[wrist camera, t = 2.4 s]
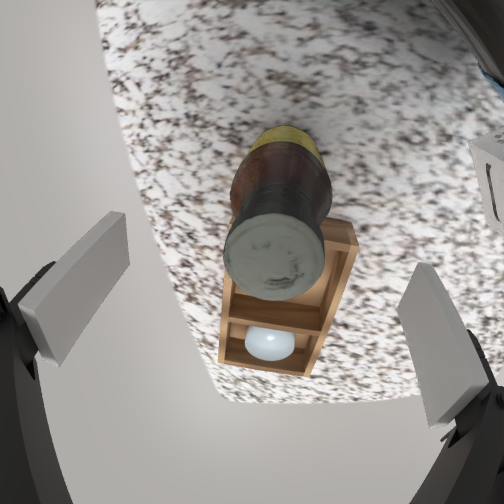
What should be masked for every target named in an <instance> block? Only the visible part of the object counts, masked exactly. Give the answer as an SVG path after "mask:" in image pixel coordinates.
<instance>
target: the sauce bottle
mask: <svg viewBox="0 0 504 504" xmlns="http://www.w3.org/2000/svg"><path fill="white" fill-rule="evenodd" d="M230 200H231V208H232V211H233V215H234V217H235V221H234V222H233V223H232V226H231V228H230V230H229V233H228V236H227V239H226V242H225V246H224V257H223V260H224V265H225V268H226V271H227V273H228V275H229V277H230V278H231V279H232V280H233V281H234V282H235V284H236V285H237V286H238V287H239V288H240V289H241V290H243V291H244V292H246V293H248V294H249V295H252V296H254V297H257V298H260V299H262V300H271V301H278V300H279V301H282V300H286V299H290V298H293V297H296V296H298V295H300V294H302V293H304V292H305V291H307V290H308V289H310V288H311V287H312V286H313V285H314V284H315V283H316V281H317V280H318V279H319V278H320V277H321V274H322V272H323V269H324V265H325V248H324V245H325V242H324V238H323V234H322V231H321V228H320V225H321V223H322V222H323V221H324V219H325V218H326V216H327V214H328V213H329V210H330V207H331V203H332V186H331V181H330V178H329V175H328V173H327V170H326V168H325V165H324V163H323V160H322V158H321V156H320V153H319V151H318V149H317V147H316V145H315V143H314V141H313V140H312V139H311V137H310V136H309V135H308V134H306V133H305V132H303V131H302V130H300V129H297V128H295V127H290V126H279V127H275V128H272V129H270V130H267V131H266V132H265V133H263V134H262V135H261V136H260V137H259V138H258V139H257V141H256V142H255V144H254V145H253V146H252V148H251V149H250V151H249V152H248V154H247V155H246V156H245V158H244V159H243V161H242V162H241V164H240V166H239V169H238V171H237V173H236V175H235V177H234V179H233V183H232V187H231V191H230Z"/></svg>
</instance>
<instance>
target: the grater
mask: <svg viewBox="0 0 504 504" xmlns="http://www.w3.org/2000/svg"><path fill="white" fill-rule="evenodd" d="M502 132H504V127H502V128H499V129H497V130H495V131H492V132H490V133H488V134H485V135H483V136H481V137H478V138H476V139H474V140H472V141H469V142H468V144H469V147H470V151H471V155H472V158H473V162H474V166H475V170H476V175H477V179H478V183H479V188H480V193H481V198H482V203H483V209H484V215H485V221H486V224H487V225H488V226H490V227H491V228H493V229H494V230H496V231H497V232H499V233H500V234H502V235H503V236H504V143H502V144H501V143H498V140H504V135H503V134H502ZM495 135H501V136H502V137H501V138H495ZM486 163H488V164H490V165H491V169H490V177H491V182H492V187H493V192H494V198H495V204H496V210H497V215H498V218H497V219H496V217H495V214H494V211H493V205H492V199H491V194H490V188H489V183H488V178H487V173H486Z"/></svg>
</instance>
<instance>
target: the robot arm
mask: <svg viewBox="0 0 504 504" xmlns="http://www.w3.org/2000/svg"><path fill="white" fill-rule="evenodd" d="M431 1H432V2H433V3H434V4H435V6H436V7H437V8H438V9H439V10H440V11H441V13H442V14H443V15H444V16H445V17H446V19H447V20H448V21H449V22H450V24H451V25H452V26H453V27H454V29H455V30H456V31H457V33H458V34H459V35H460V37H461V38H462V39H463V41H464V42H465V43H466V45H467V46H468V48H469V49H470V51H471V52H472V53H473V55H474V56H475V58H476V59H477V61H478V67H479V69H480V71H481V72H482V74H483V75H484V77H485V78H486V79H487V81H488V82H489V83H490V84H491V85H492V86H493V87H494V88H495V89H496V91H497V93H498V94H499V96H500V97H501V99H502V101H503V102H504V0H431ZM129 265H130V261H129V252H128V242H127V232H126V218H125V213H120V212H113V211H110V212H109V213H108V214H107V215H106V216H105V217H104V218H103V219H101V220H100V221H99V222H98V223H97V224H96V225H95V226H94V227H93V228H91V229H90V231H88V232H87V233H86V234H85V235H84V236H83V237H82V238H81V239H80V240H79V241H78V242H77V243H76V244H75V245H73V246H72V247H71V248H70V249H69V250H68V251H67V252H66V253H65V254H64V255H63V256H62V257H61V258H60V259H59V260H58V261H57V262H55V261H53V262H51V263H49V264H47V265H46V266H44V267H43V268H42V269H41V270H40V271H39V272H38V273H37V274H36V275H35V277H33V278H32V279H31V280H30V281H29V283H27V284H26V285H25V286H24V287H23V288H22V289H21V290H20V292H19V293H18V294H17V295H16V296H15V297H14V298H13V299H12V300H11V302H10V303H9V302H8V300H7V297H6V295H5V292H4V290H3V288H1V287H0V504H73V502H72V500H71V497H70V495H69V492H68V489H67V486H66V484H65V481H64V478H63V475H62V472H61V469H60V466H59V463H58V459H57V456H56V452H55V449H54V445H53V442H52V438H51V434H50V430H49V426H48V422H47V417H46V413H45V408H44V403H43V398H42V393H41V387H40V381H39V375H38V369H37V362H36V359H35V357H34V356H35V354H36V353H37V351H38V350H39V352H40V354H41V356H42V358H43V360H44V361H46V362H48V363H50V364H52V365H55V366H57V367H60V366H61V364H62V362H63V361H64V360H65V358H66V356H67V355H68V353H69V352H70V350H71V348H72V347H73V345H74V344H75V342H76V341H77V339H78V338H79V336H80V334H81V333H82V332H83V330H84V328H85V327H86V326H87V324H88V323H89V321H90V320H91V318H92V317H93V315H94V314H95V312H96V311H97V309H98V308H99V306H100V305H101V304H102V302H103V301H104V299H105V298H106V297H107V295H108V294H109V292H110V291H111V290H112V288H113V287H114V285H115V284H116V282H117V281H118V280H119V279H120V277H121V276H122V275H123V273H124V272H125V270H126V269H127V268H128V266H129ZM397 312H398V315H399V318H400V321H401V324H402V327H403V331H404V334H405V337H406V340H407V344H408V347H409V350H410V354H411V357H412V361H413V364H414V368H415V371H416V375H417V379H418V383H419V387H420V391H421V395H422V398H423V403H424V407H425V412H426V416H427V421H428V425H429V428H439V427H446V426H447V425H448V424H449V423H450V422H451V421H452V420H453V419H454V418H455V422H456V426H455V427H454V428H453V429H452V430H451V431H449V432H448V433H447V434H446V435H445V436H444V437H443V438H442V439H441V440H440V441H441V442H442V441H444V440H445V439H446V438H447V440H446V442H445V444H444V446H443V448H442V450H441V452H440V454H439V456H438V458H437V459H436V461H435V463H434V465H433V466H432V468H431V470H430V472H429V473H428V475H427V477H426V478H425V480H424V482H423V483H422V485H421V487H420V488H419V490H418V491H417V493H416V494H415V496H414V497H413V499H412V501H411V502H410V503H409V504H504V387H503V386H498V385H497V383H496V380H495V378H494V375H493V373H492V371H491V368H490V366H489V364H488V361H487V359H486V358H485V355H484V352H483V350H481V349H482V348H481V346H480V344H479V342H478V339H477V338H476V337H475V336H474V334H473V333H472V332H471V331H470V330H469V329H466V328H465V326H464V324H463V322H462V320H461V318H460V316H459V314H458V312H457V310H456V308H455V306H454V304H453V302H452V300H451V298H450V296H449V294H448V293H447V291H446V289H445V287H444V285H443V284H442V282H441V280H440V278H439V276H438V275H437V273H436V271H435V269H434V268H433V266H432V265H430V264H425V263H420V262H418V264H417V266H416V268H415V271H414V273H413V275H412V277H411V280H410V282H409V284H408V286H407V288H406V290H405V293H404V295H403V297H402V299H401V301H400V303H399V305H398V307H397Z"/></svg>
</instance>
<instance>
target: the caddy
mask: <svg viewBox="0 0 504 504" xmlns="http://www.w3.org/2000/svg"><path fill="white" fill-rule="evenodd" d="M234 221H235V217H234V215H233V216H232V219H231V221H230V223H229V230H230V228H231V226H232V223H233V222H234ZM320 228H321V231H322V234H323V238H324V242H325V245H324V248H325V265H324V269H323V272H322V274H321V277H320V278H319V279H318V280H317V281H316V283H315V284H314V285H313V286H312V287H311V288H310V289H308V290H307V291H305V292H304V293H302V294H300V295H298V296H296V297H293V298H290V299H286V300H282V301H279V300H278V301H271V300H262V299H260V298H257V297H254V296H252V295H249V294H248V293H246V292H244V291H243V290H241V289H240V288H239V287H238V286H237V285H236V284H235V282H234V281H233V280H232V279H231V278H230V277H229V275H228V273H227V271H226V268H225V276H224V288H223V300H222V313H221V326H220V339H219V353H218V363H223V364H228V365H233V366H239V367H244V368H250V369H256V370H262V371H269V372H275V373H282V374H289V375H297V376H305V377H309V376H310V374H311V371H312V369H313V367H314V364H315V362H316V360H317V357H318V355H319V353H320V350H321V348H322V346H323V343H324V341H325V338H326V336H327V333H328V331H329V328H330V326H331V323H332V321H333V318H334V316H335V313H336V311H337V308H338V305H339V303H340V300H341V297H342V295H343V292H344V289H345V286H346V284H347V281H348V278H349V275H350V272H351V269H352V267H353V264H354V261H355V258H356V255H357V252H358V249H359V244H358V241H357V238H356V235H355V232H354V229H353V226H352V223H351V222H347V221H341V220H336V219H331V218H325V219H324V221H323V222H322V223H321V225H320ZM228 233H229V232H228ZM248 325H249V326H254V327H260V328H266V329H272V330H279V331H285V332H292V333H295V344H294V350H293V352H292V353H291V354H290V355H289V356H288V357H286V358H284V359H281V360H276V361H267V360H262V359H259V358H256V357H254V356H253V355H251V354H250V353H249V352H248V350H247V349H246V347H245V339H246V333H247V328H248Z"/></svg>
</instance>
